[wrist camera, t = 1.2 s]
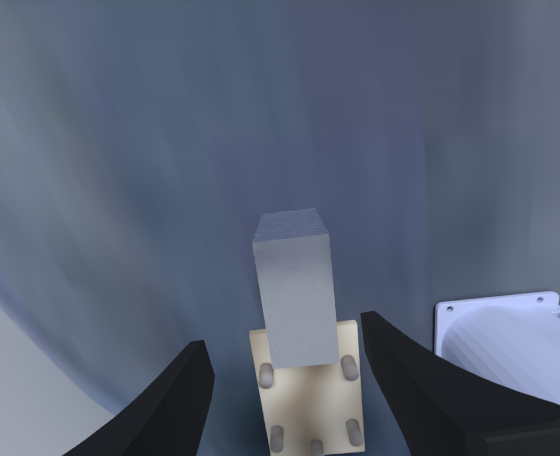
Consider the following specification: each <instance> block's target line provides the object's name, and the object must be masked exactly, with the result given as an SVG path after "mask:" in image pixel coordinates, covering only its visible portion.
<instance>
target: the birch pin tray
mask: <svg viewBox="0 0 560 456" xmlns="http://www.w3.org/2000/svg"><path fill="white" fill-rule="evenodd" d="M336 324H337V336H338V348H339V360H340V363H333V364H322V365H312V366H301V367H291V368H280V369H272V362H271V356H270V350H269V344H268V338H267V331H266V329H261V330H251V331H250V333H249V337H250V342H251V348H252V353H253V359H254V365H255V370H256V376H257V381H258V387H259V392H260V398H261V403H262V409H263V414H264V420H265V425H266V431H267V437H268V442H269V448H270V453H271V456H324V455H326V454H339V453H351V452H364V451H365V445H364V429H363V413H362V397H361V381H360V365H359V349H358V332H357V323H356V321H355V320H349V321H340V322H336Z"/></svg>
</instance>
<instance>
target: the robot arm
mask: <svg viewBox="0 0 560 456" xmlns="http://www.w3.org/2000/svg"><path fill="white" fill-rule="evenodd" d="M538 298H539V299H538ZM537 299H538V300H537ZM558 302H559V295H558V294H557V293H555V292H553V291H545V292H536V293H526V294H516V295H507V296H497V297H487V298H478V299H468V300H458V301H449V302H441V303H438V304H437V305H436V307H435V341H434V353H432V352H431V351H429V350H427V349H426V348H424V347H423V346H421V345H420V344H418V343H416V342H415V341H413V340H412V339H411V338H409V337H408V336H406V335H405V334H404V333H402V332H401V331H399V330H398V329H397V328H395V327H394V326H393V325H392V324H390V323H389V322H388V321H386V320H385V319H384V318H383V317H381V316H380V315H379V314H378V313H376V312H375V311H370V312H364V313H360V314H361V322H362V330H363V339H364V347H365V353H366V355H367V358H368V361H369V364H370V366H371V369H372V372H373V374H374V376H375V378H376V380H377V382H378V384H379V386H380V388H381V390H382V392H383V394H384V396H385V398H386V400H387V402H388V404H389V406H390V408H391V410H392V412H393V414H394V416H395V418H396V420H397V422H398V425H399V427H400V429H401V431H402V433H403V436H404V438H405V440H406V443H407V446H408V448H409V451H410V453H411V456H560V306H559V305H558ZM450 306H451V307H450ZM448 307H450V308H449V309H447V308H448ZM214 378H215V375H214V372H213V368H212V365H211V362H210V359H209V355H208V352H207V349H206V346H205V342H204V340H199V341H193V342H190V343H189V344H188V345H187V346H186V347H185V348H184V349H183V350H182V351H181V352H180V354H179V355H178V356H177V357H176V358H175V359H174V360H173V361H172V362H171V363H170V364H169V365H168V367H167V368H166V369H165V370H164V371H163V372H162V373H161V374H160V375H159V376H158V377H157V378H156V379H155V380H154V381H153V382H152V383H151V384H150V385H149V386H148V387H147V388H146V389H145V390H144V391H143V392H142V393H141V394H140V395H139V396H138V397H137V398H136V399H135V400H134V401H133V402H131V403H130V404H129V405H128V406H127V407H126V408H125V409H123V410H122V411H121V412H120V413H119V414H118V415H116V416H115V417H114V418H113V419H112V420H110V421H109V422H108V423H107V424H105V425H104V426H103V427H101V428H100V429H99V430H97V431H96V432H95V433H94V434H92V435H91V436H90V437H88V438H87V439H86V440H84V441H83V442H81V443H80V444H79V445H77V446H76V447H74V448H73V449H71V450H70V451H68V452H67V453H65V454H64V455H63V456H196V454H197V450H198V447H199V443H200V440H201V436H202V432H203V429H204V425H205V421H206V418H207V414H208V410H209V406H210V403H211V399H212V392H213V385H214Z"/></svg>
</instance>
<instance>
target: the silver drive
mask: <svg viewBox="0 0 560 456" xmlns="http://www.w3.org/2000/svg"><path fill="white" fill-rule="evenodd" d="M252 245H253V251H254V257H255V263H256V269H257V276H258V282H259V288H260V294H261V300H262V307H263V313H264V319H265V325H266V331H267V338H268V344H269V350H270V356H271V362H272V369H280V368H291V367H301V366H312V365H322V364H333V363H340V360H339V348H338V336H337V324H336V312H335V300H334V289H333V277H332V265H331V253H330V241H329V233H328V231H327V229H326V228H325V226H324V224H323V222H322V220H321V219H320V217H319V215H318V213H317V211H316V210H315V208H308V209H300V210H292V211H284V212H275V213H267V214H262V216H261V219H260V222H259V225H258V228H257V231H256V233H255V236H254V239H253V242H252Z"/></svg>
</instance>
